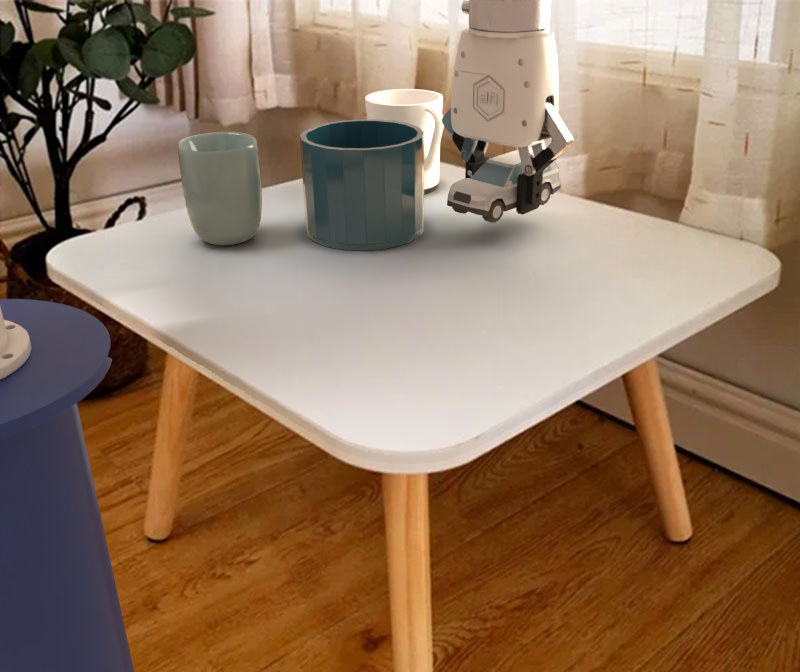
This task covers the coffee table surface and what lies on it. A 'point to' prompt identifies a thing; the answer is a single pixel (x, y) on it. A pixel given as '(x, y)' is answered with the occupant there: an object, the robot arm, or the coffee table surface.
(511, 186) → the toy car
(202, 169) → the cup
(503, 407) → the coffee table surface
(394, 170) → the teal plant pot
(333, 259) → the coffee table surface
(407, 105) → the mug
